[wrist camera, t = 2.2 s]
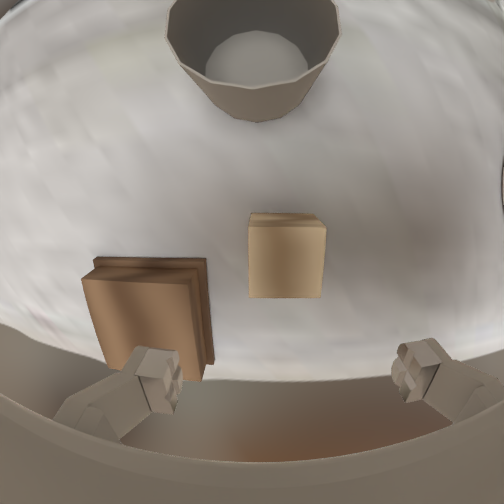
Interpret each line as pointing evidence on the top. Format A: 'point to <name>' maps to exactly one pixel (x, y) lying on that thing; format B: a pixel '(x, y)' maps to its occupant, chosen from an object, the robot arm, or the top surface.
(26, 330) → the top surface
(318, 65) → the cup
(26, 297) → the top surface
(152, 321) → the walnut pedestal
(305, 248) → the maple cube
